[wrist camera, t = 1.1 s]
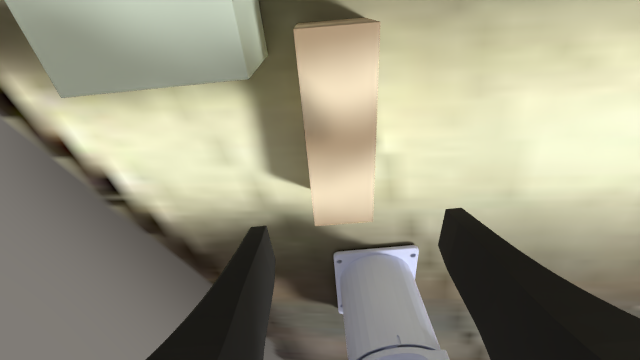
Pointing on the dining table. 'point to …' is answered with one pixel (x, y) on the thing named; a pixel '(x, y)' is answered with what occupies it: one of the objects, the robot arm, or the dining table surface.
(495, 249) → the robot arm
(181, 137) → the dining table surface
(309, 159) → the peg
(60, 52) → the block
